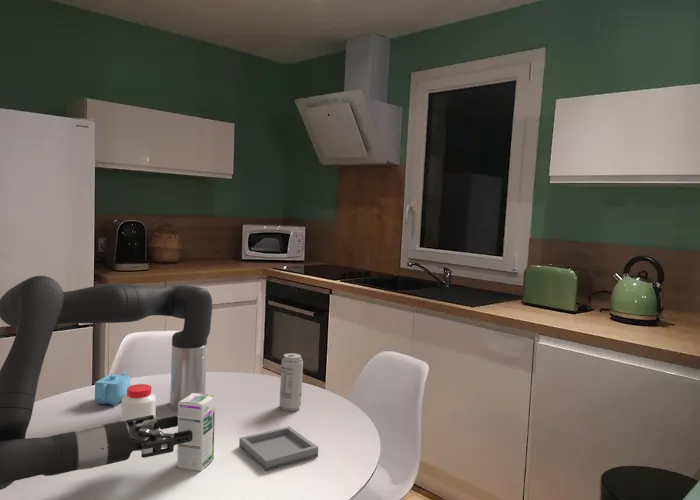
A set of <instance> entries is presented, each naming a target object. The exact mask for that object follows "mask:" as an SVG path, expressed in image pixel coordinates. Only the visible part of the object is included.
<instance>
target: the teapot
mask: <svg viewBox="0 0 700 500" xmlns="http://www.w3.org/2000/svg"><path fill="white" fill-rule="evenodd" d="M127 373H128V371H123V372H122V374H121V375H120V374H108V375H107V376H106V375H105V376H104V377H103V378H101V379H99V380H97V381H95V382H94V403H98V404H99V405H101V404H103V405H106V404H109V405H113V406H114V407H116V406H115V405H117V406H118V405H119V403H120V402H122V398H123V397H124V396H125V395H126V394H127V388H128V387H129V386H131V376H128V375H127ZM113 406H112V407H113Z"/></svg>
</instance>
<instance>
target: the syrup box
mask: <svg viewBox="0 0 700 500" xmlns="http://www.w3.org/2000/svg"><path fill="white" fill-rule="evenodd" d="M215 405H216V397H215V396H214V395H211V394H208V393H207V394H206V393H205V394H198V393H192V394H190V396H188V397H186V398H185V399H183V400H181V401H180V402H178V410H177V417H178V426H177V432H182V431H186V430H191V431H192V441H190V442H186V443H182V444H177V455H176V457H177V458H176V463H177V464H176V465H177V466H176V467H177V468H180V469H185V470H188V471H189V470H190V471H196V472H202V471H203V469H205V468H206V467H208V465H209V464H210V463H211V462H212V461H213V460H214V459H215V458H214V456H215V455H214V454H215V418H216V417H215V415H216V412H215V410H216V407H215Z"/></svg>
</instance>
